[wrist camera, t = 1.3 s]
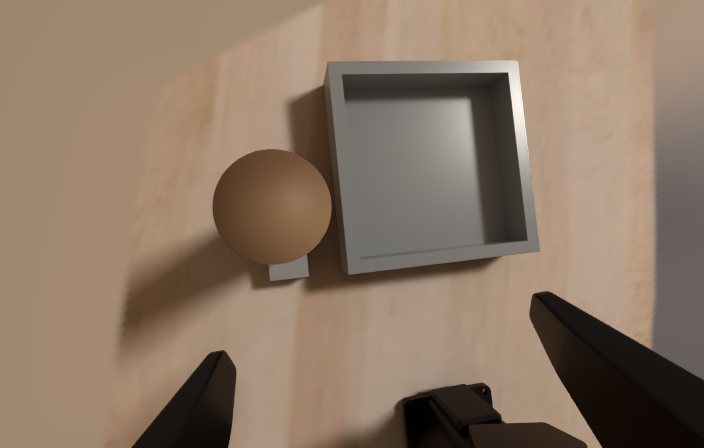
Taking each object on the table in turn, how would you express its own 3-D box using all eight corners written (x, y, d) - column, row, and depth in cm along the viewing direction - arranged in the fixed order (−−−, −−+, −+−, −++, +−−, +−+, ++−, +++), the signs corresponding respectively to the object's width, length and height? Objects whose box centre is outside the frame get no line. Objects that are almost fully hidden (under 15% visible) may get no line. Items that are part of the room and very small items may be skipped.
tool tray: (510, 249, 25) (539, 251, 22) (341, 270, 22) (348, 274, 19) (491, 81, 25) (517, 60, 22) (323, 84, 23) (327, 61, 20)
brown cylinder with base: (317, 272, 22) (341, 311, 10) (262, 279, 22) (223, 328, 10) (307, 171, 22) (320, 94, 11) (252, 174, 22) (202, 97, 10)
